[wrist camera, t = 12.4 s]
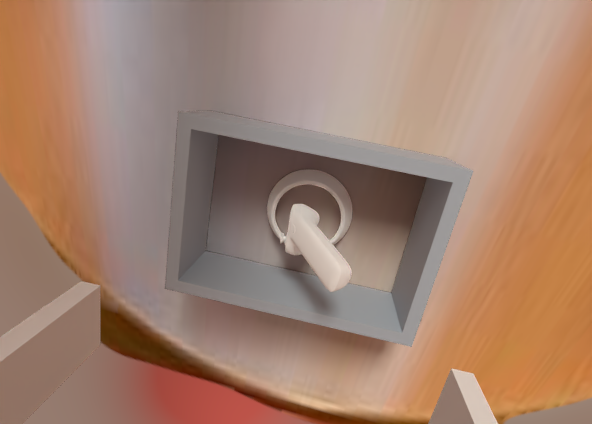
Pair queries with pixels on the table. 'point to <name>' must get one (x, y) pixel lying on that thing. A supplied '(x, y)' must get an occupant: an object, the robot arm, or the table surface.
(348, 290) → the well
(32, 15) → the table surface
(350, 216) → the white ring with handle
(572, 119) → the table surface
